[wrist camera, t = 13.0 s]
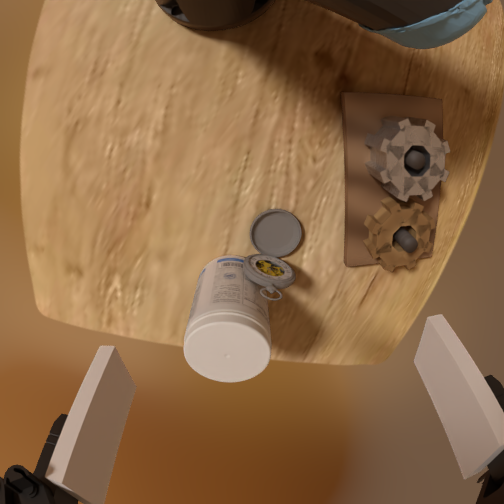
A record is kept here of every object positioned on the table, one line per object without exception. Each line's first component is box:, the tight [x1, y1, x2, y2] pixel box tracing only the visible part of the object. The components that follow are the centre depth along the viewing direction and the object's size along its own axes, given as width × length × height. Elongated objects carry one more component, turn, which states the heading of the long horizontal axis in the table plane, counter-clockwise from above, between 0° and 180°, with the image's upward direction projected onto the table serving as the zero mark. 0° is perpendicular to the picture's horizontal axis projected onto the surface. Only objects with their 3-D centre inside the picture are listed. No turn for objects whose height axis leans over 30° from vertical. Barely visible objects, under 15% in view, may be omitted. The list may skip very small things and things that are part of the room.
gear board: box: [341, 92, 443, 272], centre depth 34 cm, size 23×14×6 cm, turn 6°
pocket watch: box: [243, 209, 302, 301], centre depth 36 cm, size 8×8×10 cm
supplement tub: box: [184, 255, 271, 382], centre depth 37 cm, size 10×10×15 cm
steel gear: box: [364, 115, 450, 202], centre depth 32 cm, size 10×10×5 cm
